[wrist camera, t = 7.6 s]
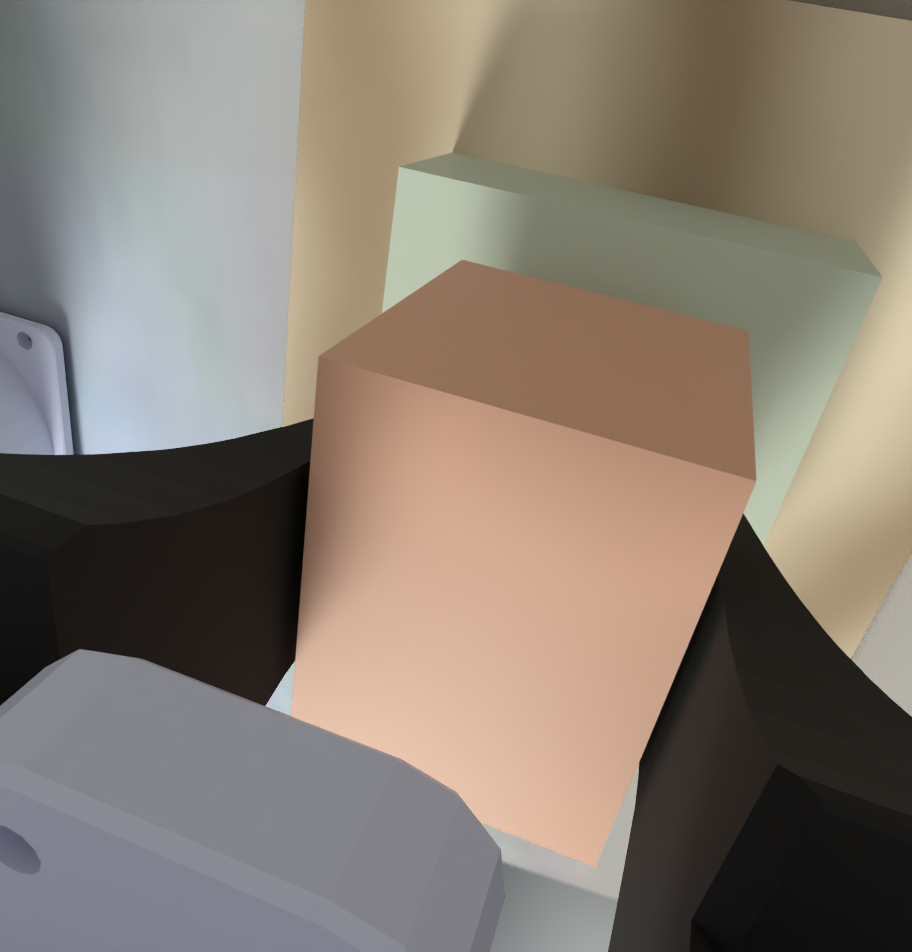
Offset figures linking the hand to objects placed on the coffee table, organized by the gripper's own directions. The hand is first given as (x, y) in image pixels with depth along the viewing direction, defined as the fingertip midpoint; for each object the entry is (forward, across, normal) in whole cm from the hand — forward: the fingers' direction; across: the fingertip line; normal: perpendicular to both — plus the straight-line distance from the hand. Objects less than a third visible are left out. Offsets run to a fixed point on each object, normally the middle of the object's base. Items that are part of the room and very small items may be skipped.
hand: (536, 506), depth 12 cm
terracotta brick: (+2, 0, 0) cm, 2 cm away
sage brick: (+6, 0, 0) cm, 6 cm away
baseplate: (+7, 0, 0) cm, 7 cm away
